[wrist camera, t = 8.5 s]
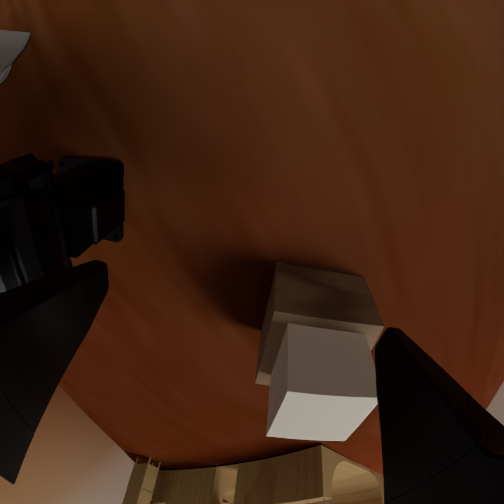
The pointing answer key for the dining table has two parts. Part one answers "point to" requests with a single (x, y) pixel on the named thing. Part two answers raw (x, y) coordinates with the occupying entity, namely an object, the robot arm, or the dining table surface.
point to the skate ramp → (261, 482)
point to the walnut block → (314, 309)
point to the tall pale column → (11, 49)
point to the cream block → (320, 384)
